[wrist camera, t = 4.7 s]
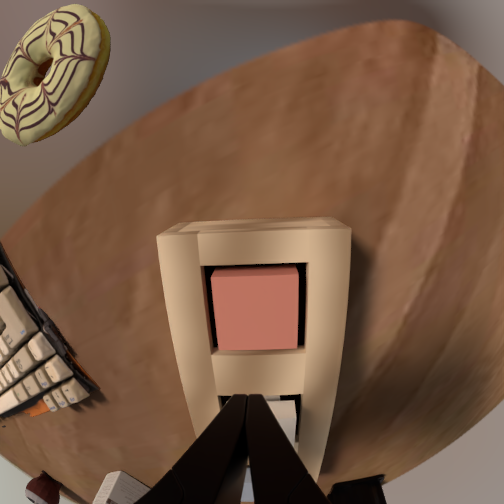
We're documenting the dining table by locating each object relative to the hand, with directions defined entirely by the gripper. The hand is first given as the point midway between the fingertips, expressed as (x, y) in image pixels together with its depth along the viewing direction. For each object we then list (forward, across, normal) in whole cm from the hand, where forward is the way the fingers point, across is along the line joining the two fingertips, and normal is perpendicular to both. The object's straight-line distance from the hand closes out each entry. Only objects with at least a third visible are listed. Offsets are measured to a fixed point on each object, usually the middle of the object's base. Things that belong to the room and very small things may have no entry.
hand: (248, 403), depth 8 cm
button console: (+10, 0, +8) cm, 13 cm away
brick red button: (+10, 0, 0) cm, 10 cm away
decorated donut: (+11, +14, -16) cm, 24 cm away
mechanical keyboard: (+11, +35, +12) cm, 38 cm away
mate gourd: (+10, +42, +43) cm, 61 cm away
